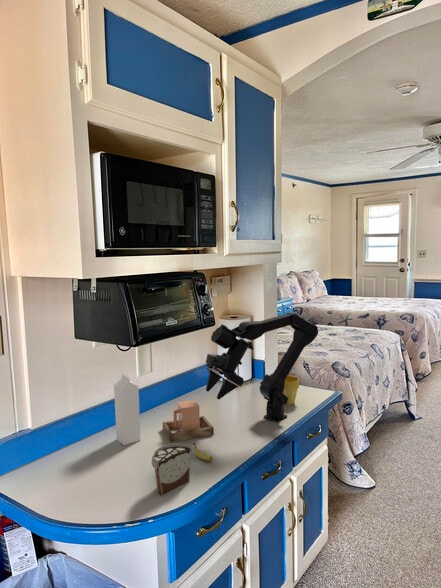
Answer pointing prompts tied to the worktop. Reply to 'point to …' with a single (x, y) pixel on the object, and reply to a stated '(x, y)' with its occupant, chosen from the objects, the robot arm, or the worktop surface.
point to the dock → (190, 433)
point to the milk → (127, 411)
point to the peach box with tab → (187, 416)
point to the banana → (202, 454)
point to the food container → (171, 467)
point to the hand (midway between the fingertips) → (212, 394)
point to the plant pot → (291, 388)
